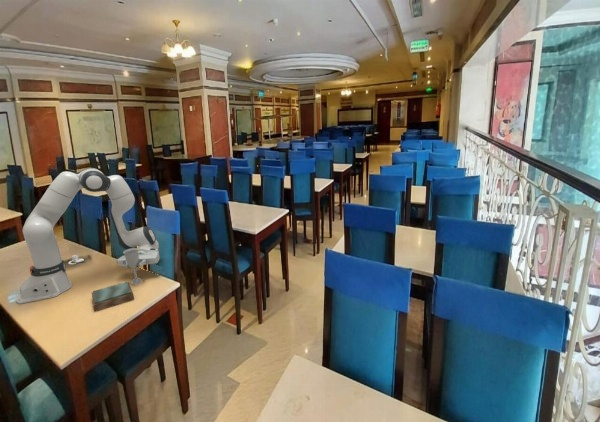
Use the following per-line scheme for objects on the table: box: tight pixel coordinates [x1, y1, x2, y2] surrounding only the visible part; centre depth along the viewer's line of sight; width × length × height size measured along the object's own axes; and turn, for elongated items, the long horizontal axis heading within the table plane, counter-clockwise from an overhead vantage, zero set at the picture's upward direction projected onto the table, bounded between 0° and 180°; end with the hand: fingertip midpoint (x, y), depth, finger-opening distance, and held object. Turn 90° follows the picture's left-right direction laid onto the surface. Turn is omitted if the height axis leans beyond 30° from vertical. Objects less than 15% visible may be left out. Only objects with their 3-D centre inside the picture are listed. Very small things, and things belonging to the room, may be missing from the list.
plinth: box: [91, 281, 135, 312], centre depth 151 cm, size 16×14×4 cm
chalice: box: [122, 247, 143, 286], centre depth 165 cm, size 7×7×18 cm
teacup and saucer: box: [67, 254, 85, 265], centre depth 196 cm, size 9×8×4 cm
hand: (132, 265), depth 164 cm, fingers closed on chalice, 5 cm apart
